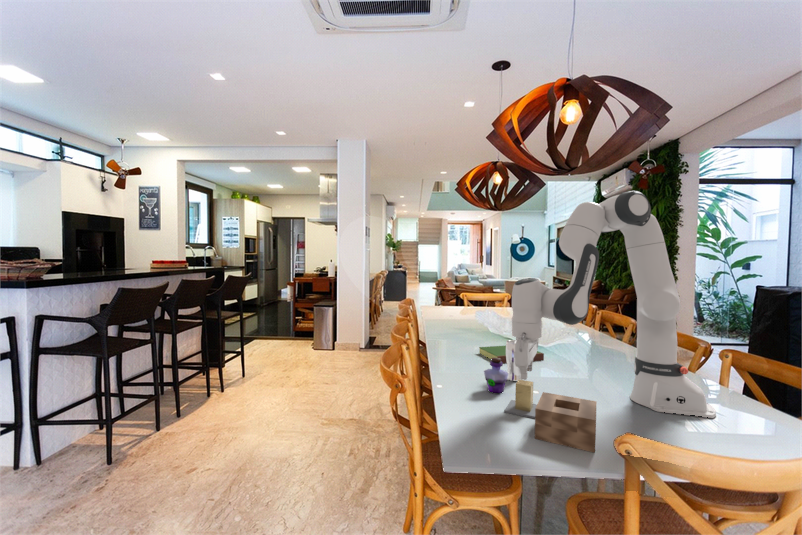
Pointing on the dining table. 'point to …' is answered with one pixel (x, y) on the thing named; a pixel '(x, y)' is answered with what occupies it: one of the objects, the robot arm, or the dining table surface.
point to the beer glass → (512, 361)
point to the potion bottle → (496, 376)
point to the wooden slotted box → (566, 421)
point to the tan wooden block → (524, 395)
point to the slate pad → (512, 410)
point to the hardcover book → (503, 353)
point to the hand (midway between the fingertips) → (526, 374)
